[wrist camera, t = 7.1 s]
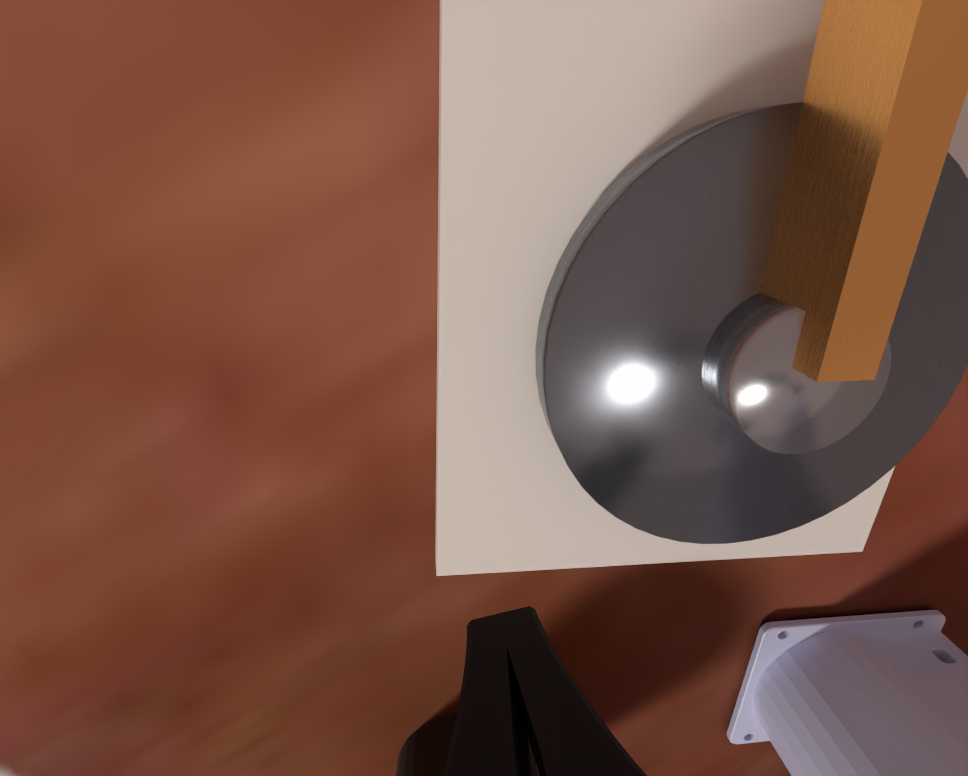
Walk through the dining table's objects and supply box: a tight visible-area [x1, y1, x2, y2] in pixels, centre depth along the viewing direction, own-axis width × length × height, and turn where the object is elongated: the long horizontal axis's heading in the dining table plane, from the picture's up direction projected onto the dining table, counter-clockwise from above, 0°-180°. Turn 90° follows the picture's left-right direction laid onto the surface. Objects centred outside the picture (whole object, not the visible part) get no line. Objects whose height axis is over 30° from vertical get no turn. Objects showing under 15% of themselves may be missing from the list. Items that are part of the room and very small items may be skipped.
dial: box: [535, 0, 968, 544], centre depth 16 cm, size 18×14×4 cm
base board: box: [435, 0, 968, 576], centre depth 17 cm, size 18×20×6 cm
